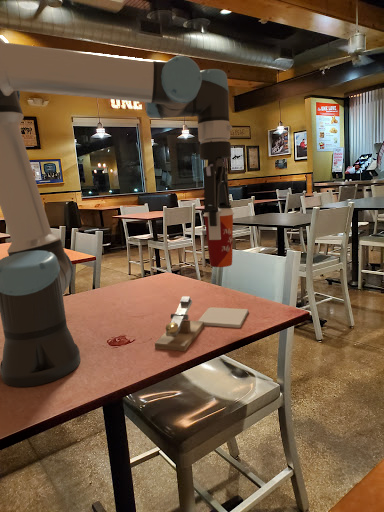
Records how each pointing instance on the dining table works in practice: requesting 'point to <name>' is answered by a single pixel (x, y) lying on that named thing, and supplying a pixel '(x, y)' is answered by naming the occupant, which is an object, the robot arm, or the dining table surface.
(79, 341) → the dining table surface
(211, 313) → the tile
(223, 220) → the paper cup
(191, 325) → the lever base
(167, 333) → the lever
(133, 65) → the robot arm
